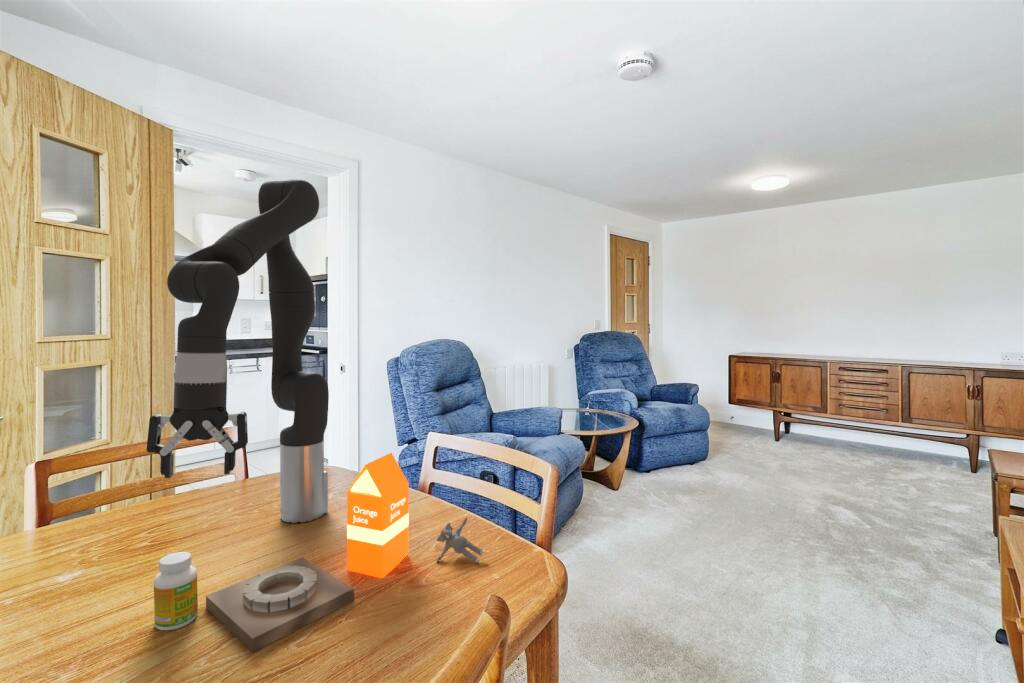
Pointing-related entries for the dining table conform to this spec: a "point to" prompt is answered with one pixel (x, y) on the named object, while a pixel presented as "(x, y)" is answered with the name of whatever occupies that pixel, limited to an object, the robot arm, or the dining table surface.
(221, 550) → the dining table surface
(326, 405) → the robot arm
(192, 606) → the supplement bottle
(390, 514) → the orange juice
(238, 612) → the stone ring base
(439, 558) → the grey plastic figure
